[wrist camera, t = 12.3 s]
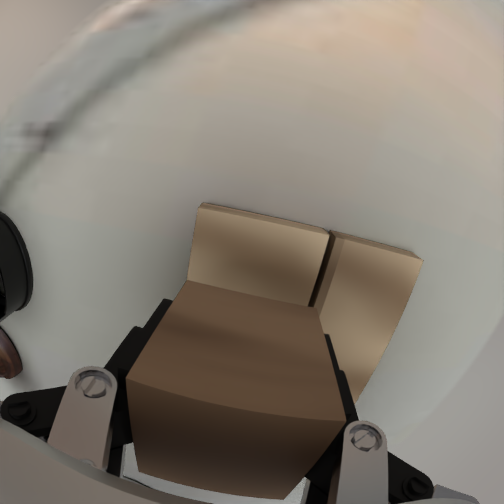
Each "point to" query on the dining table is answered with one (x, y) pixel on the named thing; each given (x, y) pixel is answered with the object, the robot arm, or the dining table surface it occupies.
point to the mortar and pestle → (8, 358)
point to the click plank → (256, 254)
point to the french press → (13, 269)
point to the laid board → (362, 301)
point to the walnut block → (234, 394)
